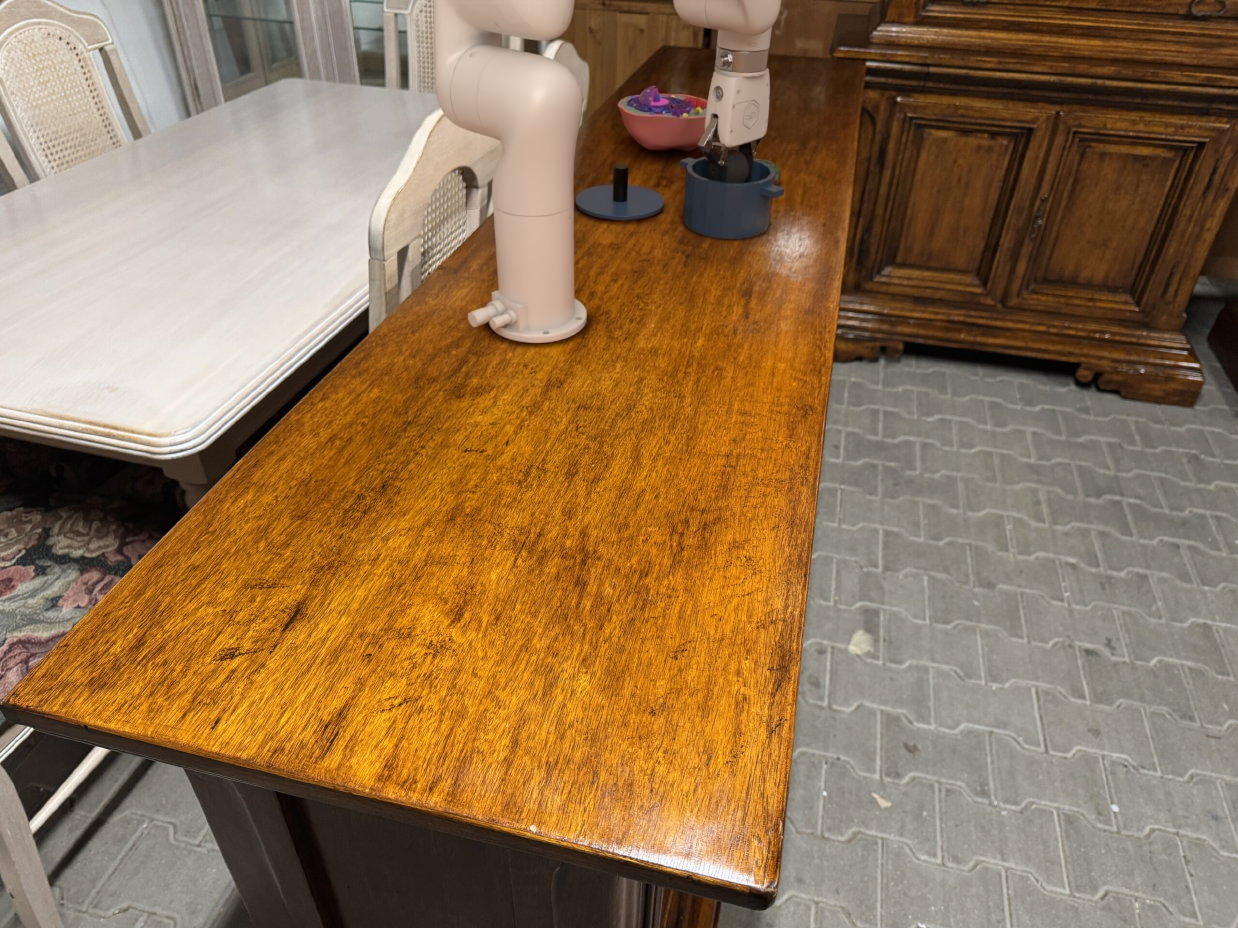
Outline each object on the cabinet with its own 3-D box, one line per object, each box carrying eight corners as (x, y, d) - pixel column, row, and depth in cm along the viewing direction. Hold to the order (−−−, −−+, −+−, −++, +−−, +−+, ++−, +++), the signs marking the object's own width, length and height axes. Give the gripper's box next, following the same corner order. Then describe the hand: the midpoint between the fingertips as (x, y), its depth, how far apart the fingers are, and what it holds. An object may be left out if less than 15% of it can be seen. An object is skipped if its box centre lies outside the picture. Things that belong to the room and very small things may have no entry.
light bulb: (745, 221, 137) (752, 157, 131) (709, 220, 137) (715, 155, 131) (741, 208, 142) (748, 145, 136) (707, 207, 142) (712, 144, 136)
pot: (745, 252, 131) (752, 196, 126) (653, 216, 142) (656, 163, 137) (799, 228, 139) (807, 175, 134) (707, 196, 150) (712, 145, 145)
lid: (620, 231, 137) (621, 188, 133) (557, 205, 145) (556, 164, 141) (682, 208, 145) (684, 167, 141) (619, 185, 153) (620, 146, 149)
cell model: (706, 170, 160) (712, 106, 154) (604, 156, 165) (605, 93, 158) (727, 143, 173) (733, 83, 166) (632, 131, 178) (634, 72, 171)
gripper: (723, 74, 119) (711, 204, 130) (798, 56, 129) (781, 178, 140) (682, 64, 123) (674, 191, 134) (757, 47, 133) (744, 167, 144)
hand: (728, 183), depth 137 cm, fingers closed on light bulb, 5 cm apart
